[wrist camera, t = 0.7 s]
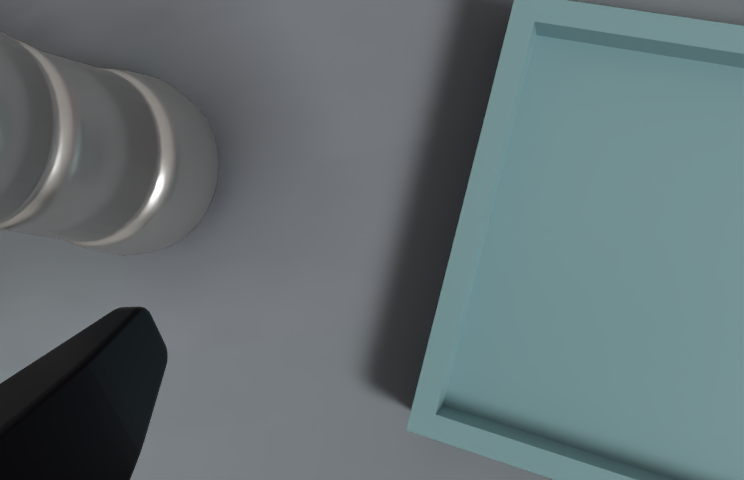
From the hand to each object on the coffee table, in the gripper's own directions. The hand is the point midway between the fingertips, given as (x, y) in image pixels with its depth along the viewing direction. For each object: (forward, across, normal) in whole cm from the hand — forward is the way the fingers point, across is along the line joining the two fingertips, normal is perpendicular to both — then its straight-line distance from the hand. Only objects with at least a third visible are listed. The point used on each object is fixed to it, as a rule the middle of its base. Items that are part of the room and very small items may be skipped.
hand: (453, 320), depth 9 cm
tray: (+12, -6, +9) cm, 16 cm away
